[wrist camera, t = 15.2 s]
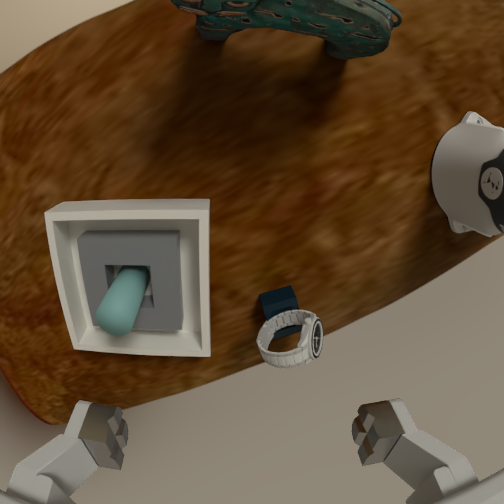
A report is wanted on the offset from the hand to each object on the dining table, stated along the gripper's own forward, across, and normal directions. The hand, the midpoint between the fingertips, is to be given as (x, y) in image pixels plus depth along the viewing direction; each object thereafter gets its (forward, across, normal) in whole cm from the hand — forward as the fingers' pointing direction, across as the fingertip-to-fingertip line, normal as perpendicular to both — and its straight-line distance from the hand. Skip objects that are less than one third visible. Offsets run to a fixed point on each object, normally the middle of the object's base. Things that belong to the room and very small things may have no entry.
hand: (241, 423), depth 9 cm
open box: (+29, +12, +9) cm, 33 cm away
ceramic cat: (+31, -4, -20) cm, 37 cm away
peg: (+28, +12, +9) cm, 32 cm away
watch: (+30, -7, +14) cm, 34 cm away
